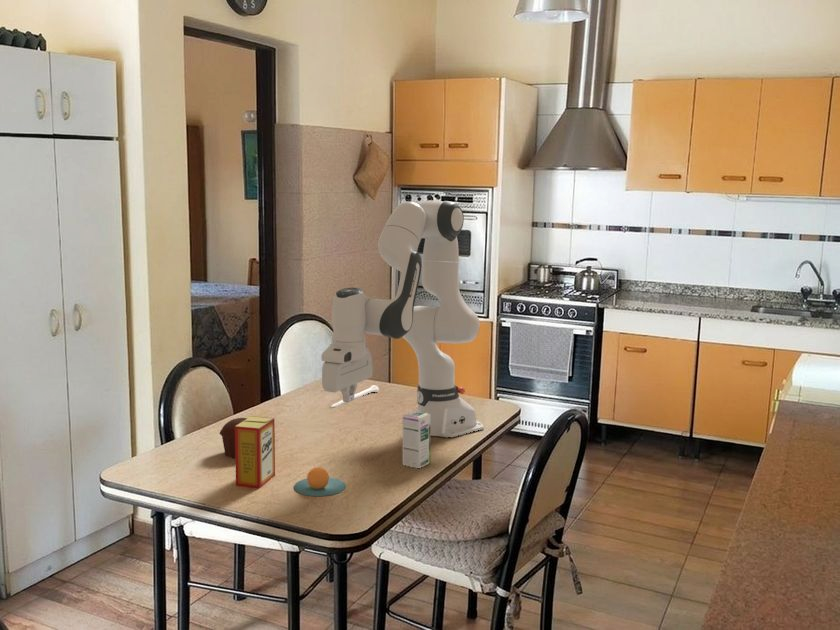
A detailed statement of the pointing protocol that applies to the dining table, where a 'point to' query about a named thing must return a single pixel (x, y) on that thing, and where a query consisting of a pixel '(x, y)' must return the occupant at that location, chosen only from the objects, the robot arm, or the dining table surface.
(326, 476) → the ball
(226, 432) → the muffin
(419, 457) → the syrup box
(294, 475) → the dining table surface
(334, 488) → the teal plate
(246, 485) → the baking soda box
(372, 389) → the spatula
